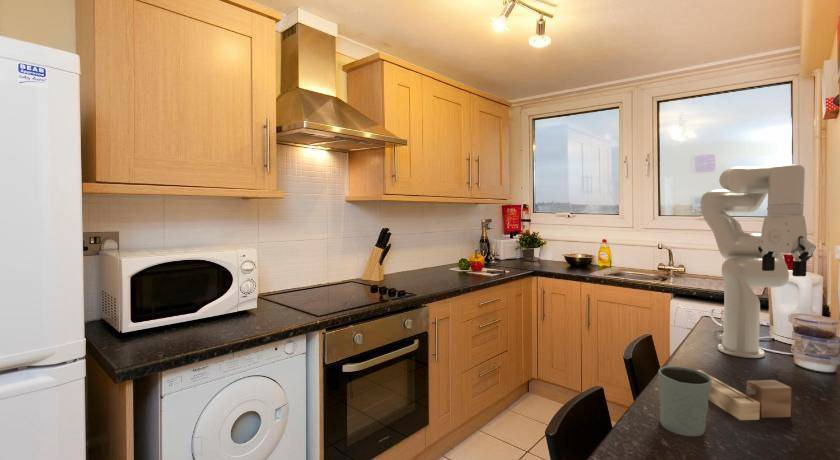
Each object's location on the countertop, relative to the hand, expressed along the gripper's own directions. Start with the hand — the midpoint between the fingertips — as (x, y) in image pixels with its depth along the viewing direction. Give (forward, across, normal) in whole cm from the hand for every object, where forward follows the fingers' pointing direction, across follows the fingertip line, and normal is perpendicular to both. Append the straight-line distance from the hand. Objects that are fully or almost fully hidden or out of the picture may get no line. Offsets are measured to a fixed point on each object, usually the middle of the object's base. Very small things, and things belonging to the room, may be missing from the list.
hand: (783, 273), depth 120 cm
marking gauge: (+30, +17, -18) cm, 39 cm away
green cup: (+31, +22, -42) cm, 56 cm away
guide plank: (+30, +10, -25) cm, 41 cm away
